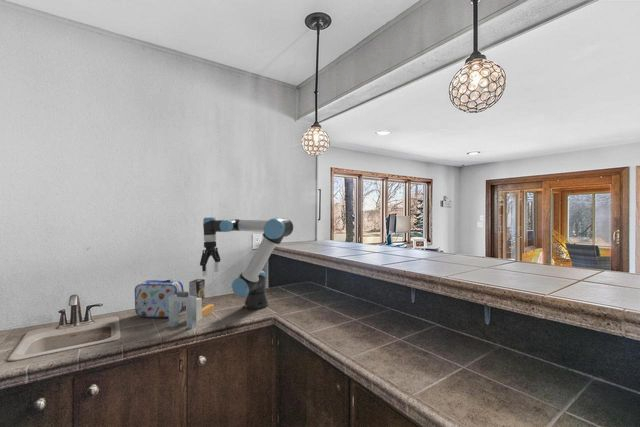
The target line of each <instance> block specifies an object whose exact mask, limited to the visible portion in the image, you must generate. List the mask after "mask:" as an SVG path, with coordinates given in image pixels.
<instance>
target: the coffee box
mask: <svg viewBox="0 0 640 427" xmlns="http://www.w3.org/2000/svg"><path fill="white" fill-rule="evenodd" d="M205 281H206V279H204V278H197V279H193V280H191V281H189V282H188V286H189V287H188V295H192V296H196V298H202V305H203V304H205V303H206V300H205V298H206V297H205V295H206V294H205V293H206V292H205V290H206V282H205Z"/></svg>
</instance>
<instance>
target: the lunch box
mask: <svg viewBox="0 0 640 427" xmlns="http://www.w3.org/2000/svg"><path fill="white" fill-rule="evenodd" d="M180 291H182V292H185V290H184V285H183V283H182V282H181V281H179V280H171V279H166V280H157V279H156V280H154V279H153V280H151V279H149V280H145V281H143V282H141V283H140V284H139V283H138V284H136V286H135V287H134V310H135V314H136V315H137V316H139V317H146V318H154V319H155V318H169V296H171V295H173V294H177V292H180ZM183 305H184V302H179V313H181V312H182V310H183Z"/></svg>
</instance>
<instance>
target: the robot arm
mask: <svg viewBox="0 0 640 427" xmlns="http://www.w3.org/2000/svg"><path fill="white" fill-rule="evenodd" d="M202 222H203V223H202V225H203V226H202V227H203V228H202V229H203V248H204V249H202V254H201V257H200V261H199V266H200V267H201V268H202V269H201V270H202V277H208V265H207V264H208V262H209V259H210V257H212V259H213V260H214V262H213V266H214V268H213V270H214V273H219V271H220V270H219V269H220V267H219V263H221V257H220V254H219V249H218V247H217V233H228V232H232V231H233V232H234V231H236V232H255V233H257V232H259V233H262V236H263V237H262V238H263V239H262V240H261V242H260V243H259V246H258V247H257V249H256V251H255V253H254V254H253V256H252V258H251V259H250V261H249V263H248V265H247V267H246V268H245V269H243V270H242V271H241V272H240V274H239V276H237V277H236V278H235V279H234V280H233V281H232V283H231V289H232V292H233V293H234V294H235V295H236V296H237V297H238V298H239V297H240V298H245V297H246V298H245V300H244V307H245V308H246V309H249V310H258V309H264V308H266V307H268V305H269V300H268V298H267V295H266V272H265V271H264V270H263V269H264V268H265V267H264V266H265V265H266V264H267V261H268V260H269V258H270V256H271V255H272V253H273V251H274V250H275V247H276V246H277V245H280V244H281V243H282V241H283V239H284V238H285V237H288V236H291V234H292V233H293V231H294V224H293V222H292V220H290V219H289V218H287V217H280V218H278V217H274V218H270V219H268V220H261V219H260V220H259V219H256V220H255V219H237V218H236V219H221V220H220V219H218V220H216V217H214V216H213V217H212V216H211V217H204V218H203V221H202Z"/></svg>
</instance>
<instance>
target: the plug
mask: <svg viewBox="0 0 640 427" xmlns="http://www.w3.org/2000/svg"><path fill="white" fill-rule="evenodd" d="M214 311H215V303H213V304H210V303H209V304H207V305H205V306H203V304H202V298H196V323H197V322H199V321H200V320H202V319H203V317H205V316H207V315H208V314H210V313H212V312H214ZM185 313H186V314H185V315H186V316H185V322H187V302H185Z"/></svg>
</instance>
